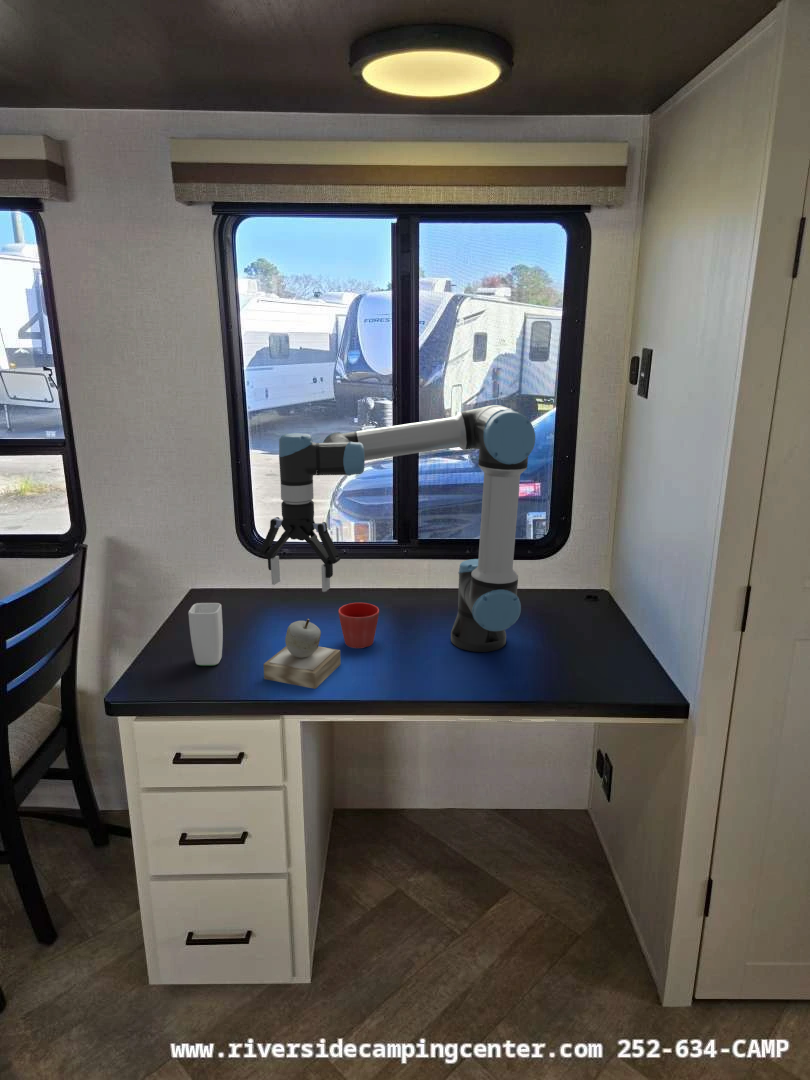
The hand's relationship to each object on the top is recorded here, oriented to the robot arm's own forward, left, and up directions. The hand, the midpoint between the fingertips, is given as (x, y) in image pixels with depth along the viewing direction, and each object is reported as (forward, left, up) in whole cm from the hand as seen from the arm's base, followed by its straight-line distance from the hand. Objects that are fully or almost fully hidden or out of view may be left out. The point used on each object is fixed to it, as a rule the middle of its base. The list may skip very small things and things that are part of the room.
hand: (300, 586), depth 177 cm
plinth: (0, 0, -23) cm, 23 cm away
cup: (+25, +4, -23) cm, 34 cm away
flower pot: (-6, -21, -23) cm, 32 cm away
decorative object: (0, 0, -18) cm, 19 cm away
